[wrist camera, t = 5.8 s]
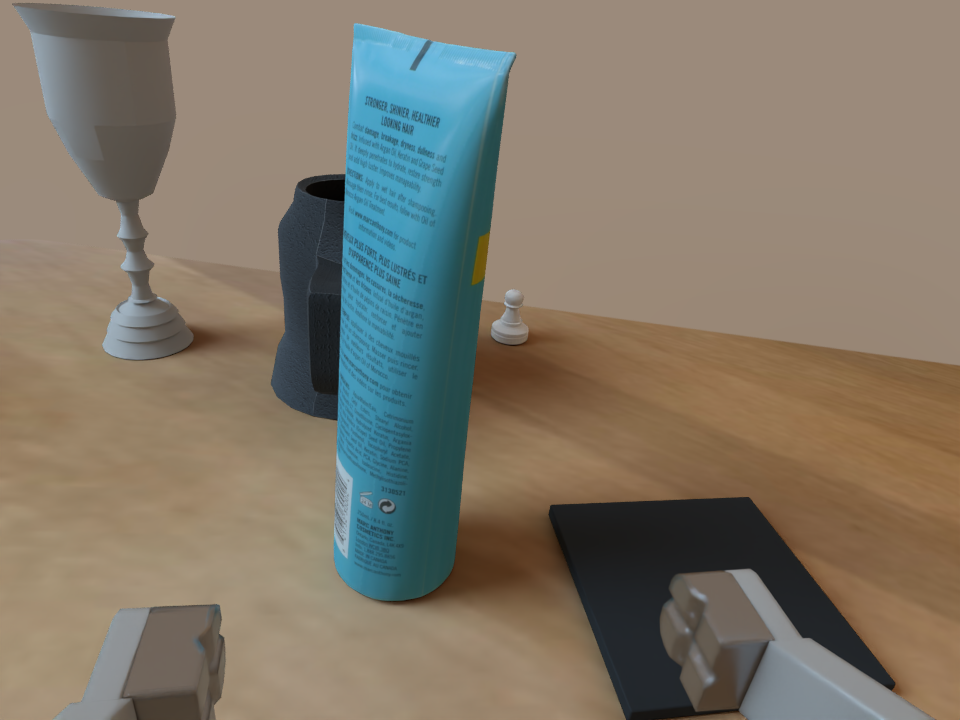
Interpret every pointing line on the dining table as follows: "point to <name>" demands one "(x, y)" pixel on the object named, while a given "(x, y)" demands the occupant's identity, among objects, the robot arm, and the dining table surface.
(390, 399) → the tube
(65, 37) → the chalice
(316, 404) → the mug
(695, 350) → the dining table surface
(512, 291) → the chess pawn
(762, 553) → the coaster
